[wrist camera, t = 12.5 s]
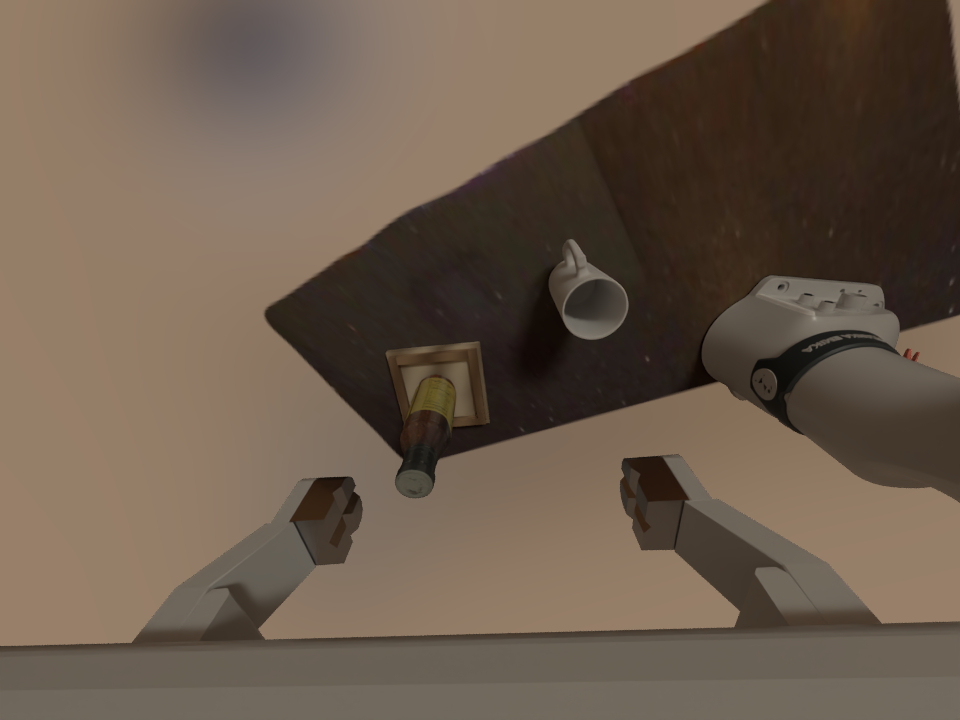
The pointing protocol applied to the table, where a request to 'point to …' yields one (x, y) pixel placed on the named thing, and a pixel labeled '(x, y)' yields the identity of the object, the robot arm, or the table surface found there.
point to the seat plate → (451, 363)
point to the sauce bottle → (425, 435)
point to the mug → (586, 296)
